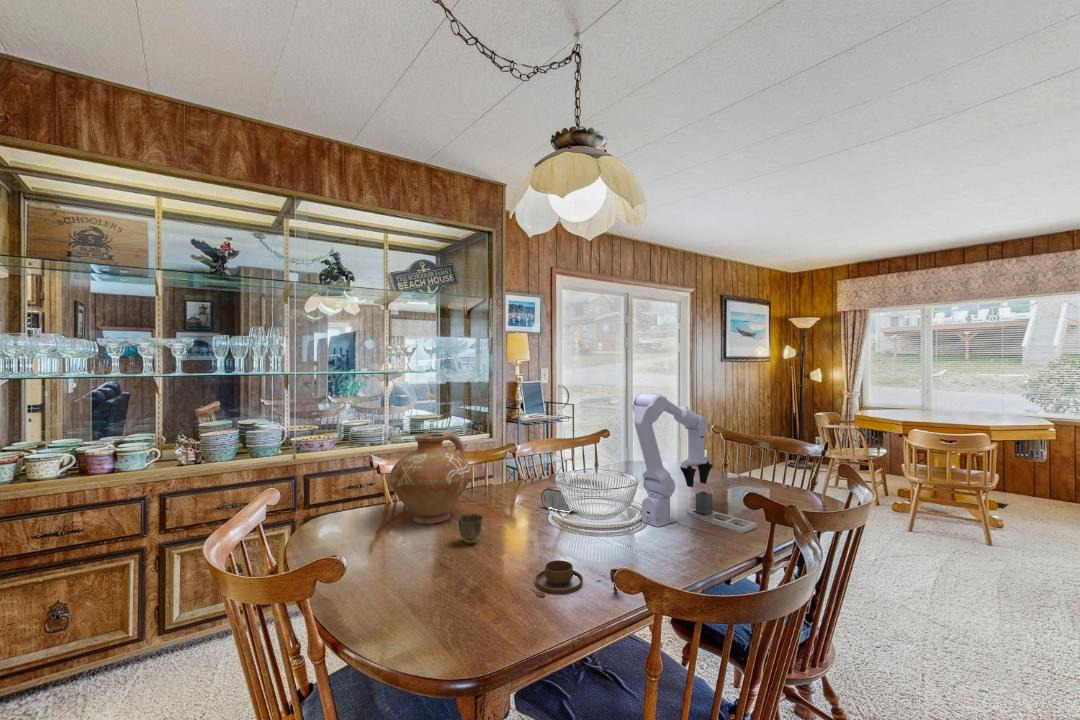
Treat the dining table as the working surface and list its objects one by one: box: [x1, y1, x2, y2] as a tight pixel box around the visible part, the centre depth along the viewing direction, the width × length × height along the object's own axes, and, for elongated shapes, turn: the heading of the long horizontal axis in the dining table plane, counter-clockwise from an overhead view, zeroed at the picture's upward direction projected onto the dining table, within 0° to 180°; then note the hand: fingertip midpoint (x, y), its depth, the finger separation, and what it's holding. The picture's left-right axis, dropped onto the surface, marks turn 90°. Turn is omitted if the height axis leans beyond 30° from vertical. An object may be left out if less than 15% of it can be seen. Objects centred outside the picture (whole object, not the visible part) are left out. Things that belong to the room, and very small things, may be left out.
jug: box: [389, 431, 472, 525], centre depth 173 cm, size 28×28×30 cm
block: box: [695, 490, 713, 516], centre depth 172 cm, size 4×4×8 cm
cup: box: [457, 512, 483, 545], centre depth 150 cm, size 8×7×8 cm
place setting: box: [529, 560, 619, 598], centre depth 119 cm, size 18×20×6 cm
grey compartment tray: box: [686, 508, 758, 534], centre depth 167 cm, size 8×22×2 cm, turn 36°
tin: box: [540, 485, 570, 511], centre depth 180 cm, size 15×3×8 cm, turn 58°
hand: (696, 484), depth 179 cm, fingers open, 7 cm apart
